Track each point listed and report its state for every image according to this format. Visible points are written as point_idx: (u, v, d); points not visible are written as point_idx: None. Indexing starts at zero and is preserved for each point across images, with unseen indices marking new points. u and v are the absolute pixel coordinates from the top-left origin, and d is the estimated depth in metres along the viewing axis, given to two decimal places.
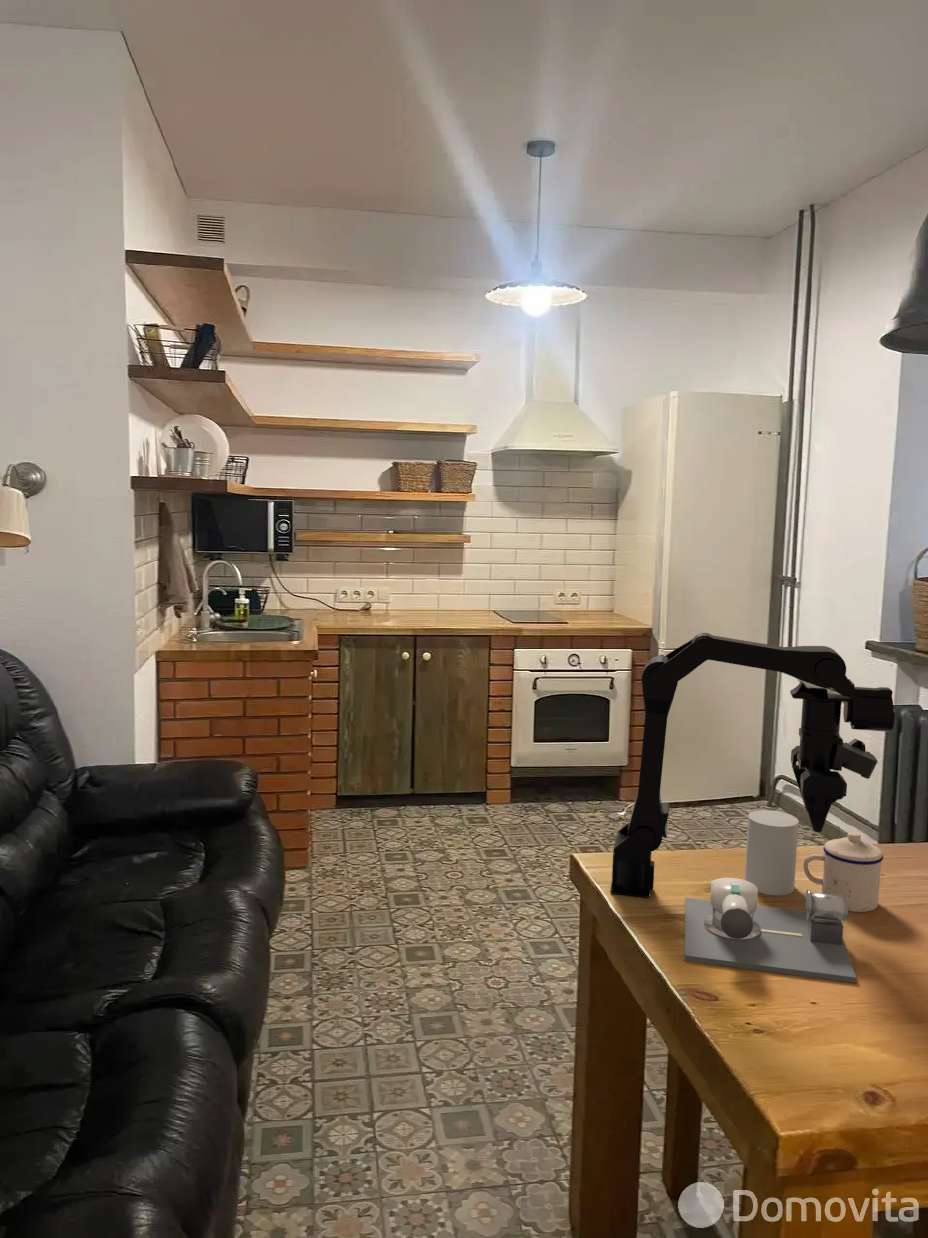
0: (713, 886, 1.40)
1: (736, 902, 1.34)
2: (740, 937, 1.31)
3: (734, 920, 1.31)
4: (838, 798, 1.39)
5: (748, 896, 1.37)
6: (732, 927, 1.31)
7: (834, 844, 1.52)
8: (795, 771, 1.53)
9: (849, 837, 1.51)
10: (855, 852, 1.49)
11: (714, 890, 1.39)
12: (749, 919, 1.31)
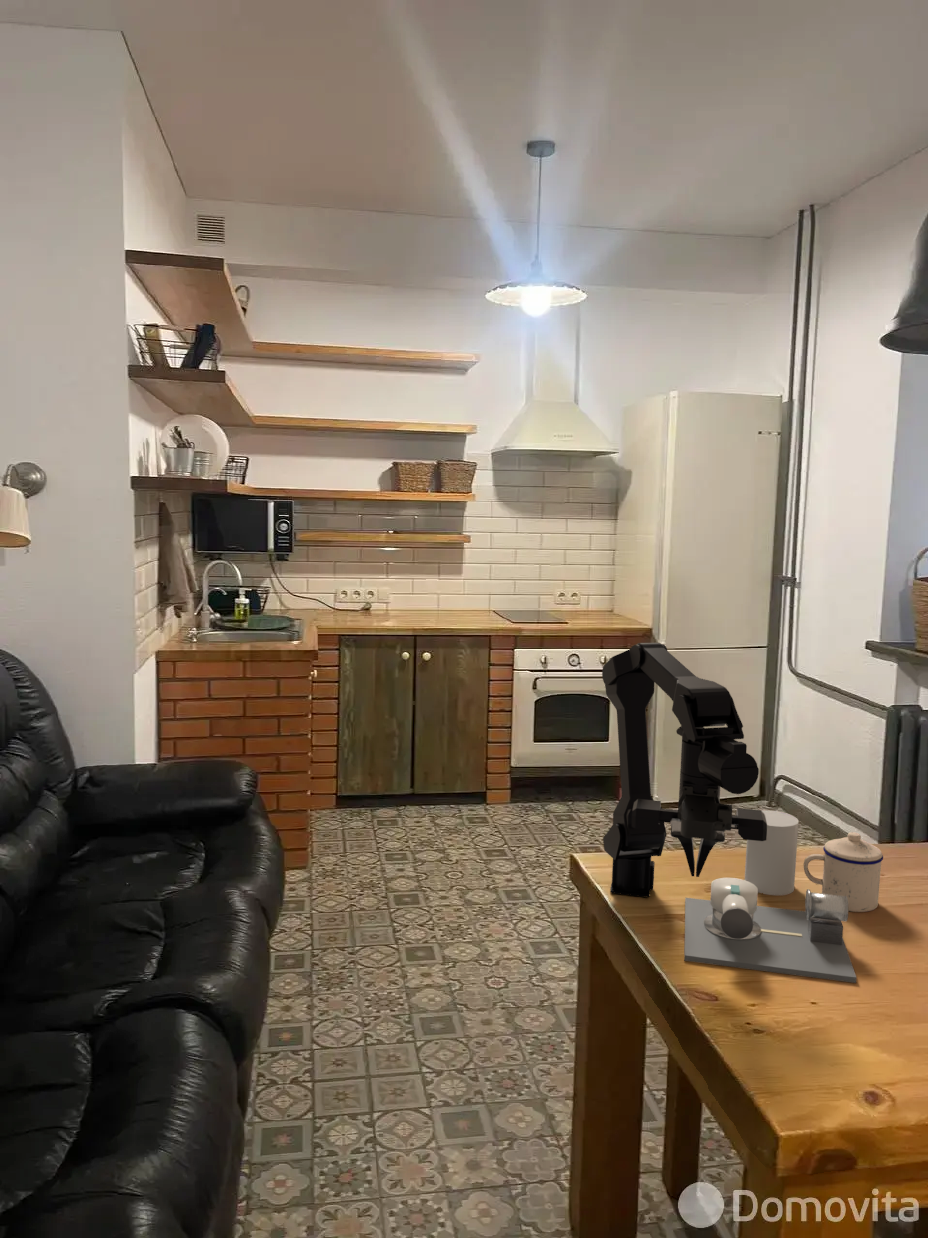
0: (713, 886, 1.40)
1: (736, 902, 1.34)
2: (740, 937, 1.31)
3: (734, 920, 1.31)
4: None
5: (748, 896, 1.37)
6: (732, 927, 1.31)
7: (834, 844, 1.52)
8: None
9: (849, 837, 1.51)
10: (855, 852, 1.49)
11: (714, 890, 1.39)
12: (749, 919, 1.31)
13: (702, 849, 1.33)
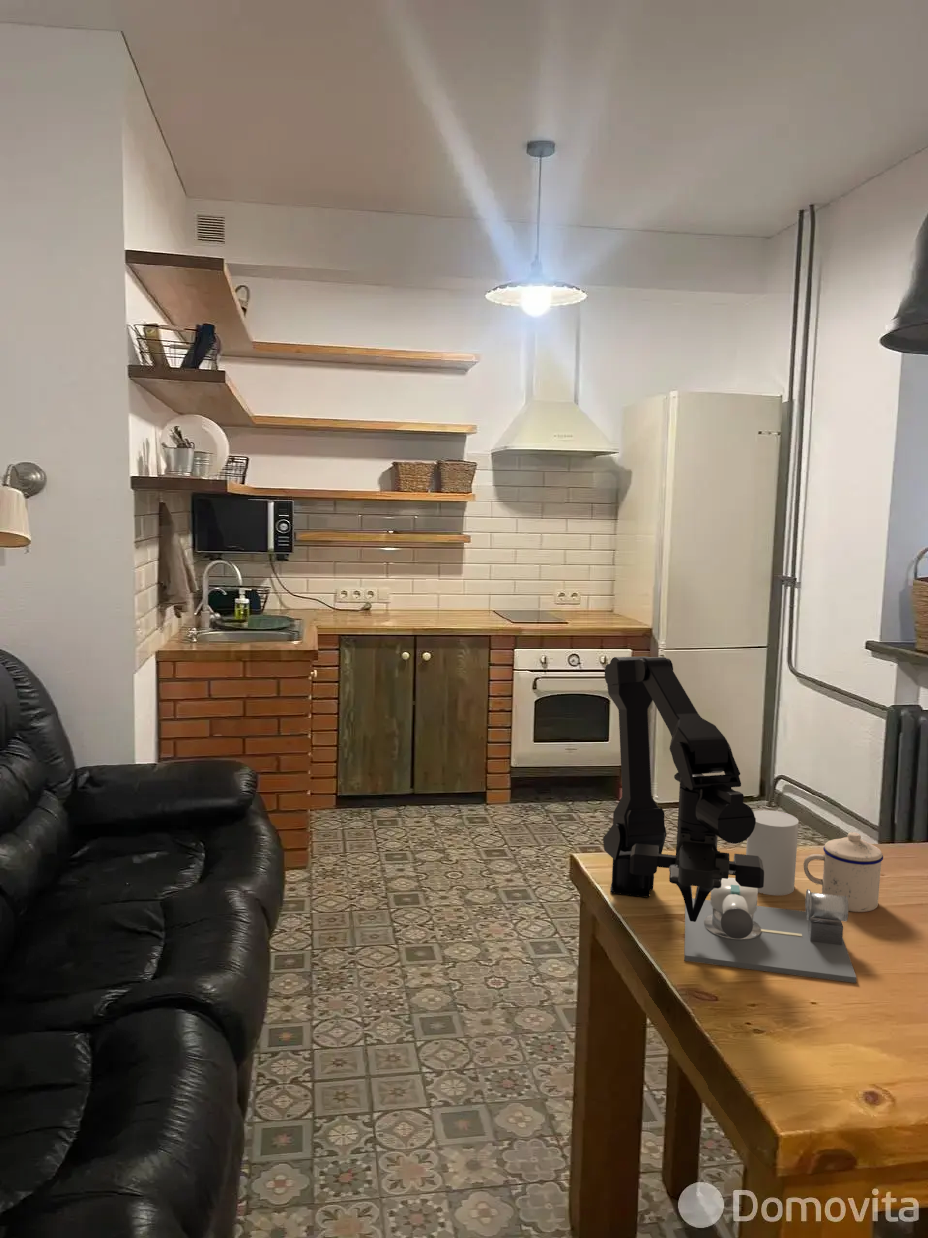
0: None
1: (736, 902, 1.34)
2: (740, 937, 1.31)
3: (734, 920, 1.31)
4: (669, 880, 1.34)
5: (748, 896, 1.37)
6: (732, 927, 1.31)
7: (834, 844, 1.52)
8: None
9: (849, 837, 1.51)
10: (855, 852, 1.49)
11: (714, 890, 1.39)
12: (749, 919, 1.31)
13: (699, 895, 1.34)
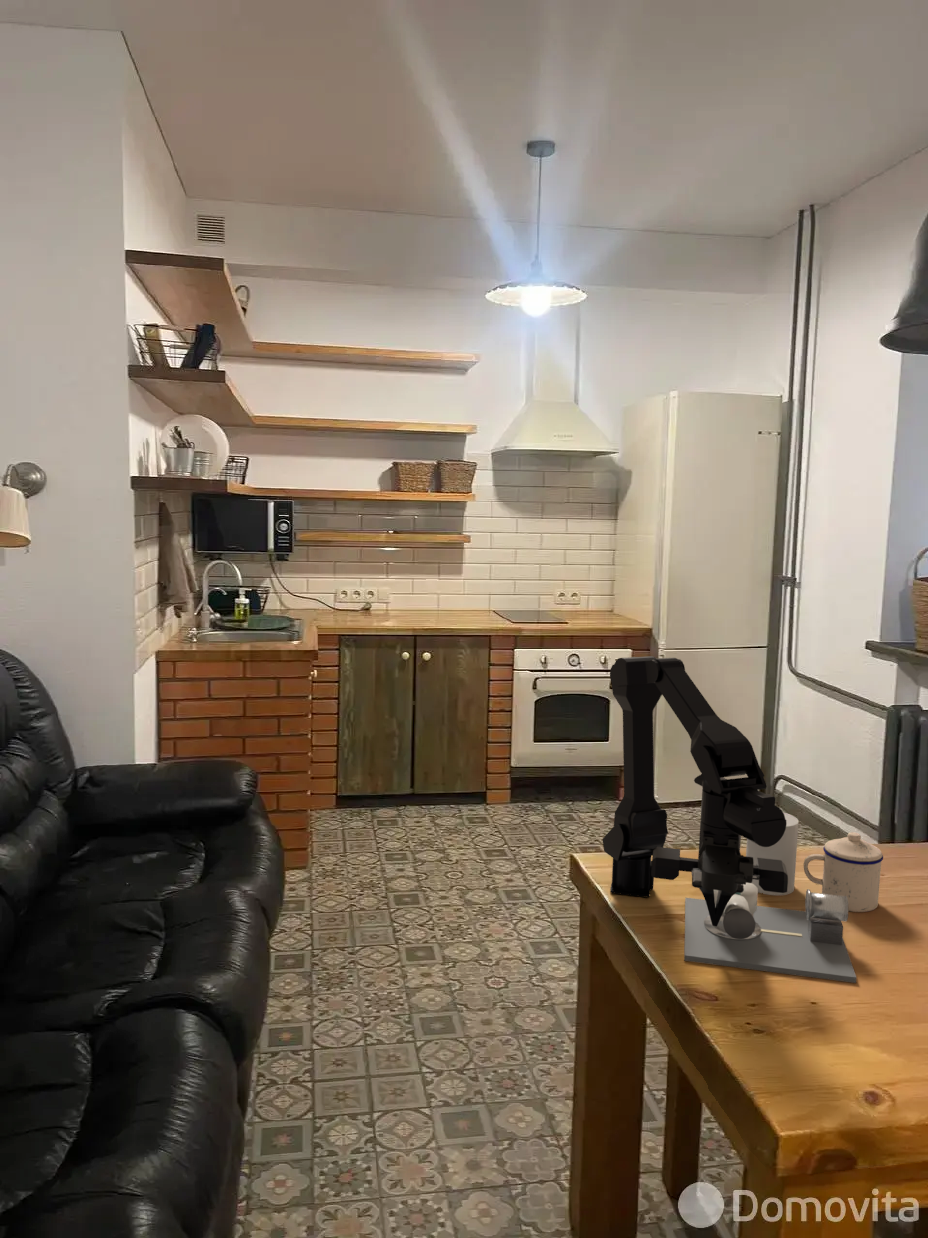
0: None
1: (737, 902, 1.34)
2: (742, 937, 1.31)
3: (736, 920, 1.31)
4: (692, 884, 1.32)
5: (748, 896, 1.37)
6: (734, 927, 1.31)
7: (834, 844, 1.52)
8: None
9: (849, 837, 1.51)
10: (855, 852, 1.49)
11: (715, 891, 1.39)
12: (751, 919, 1.30)
13: (720, 899, 1.32)
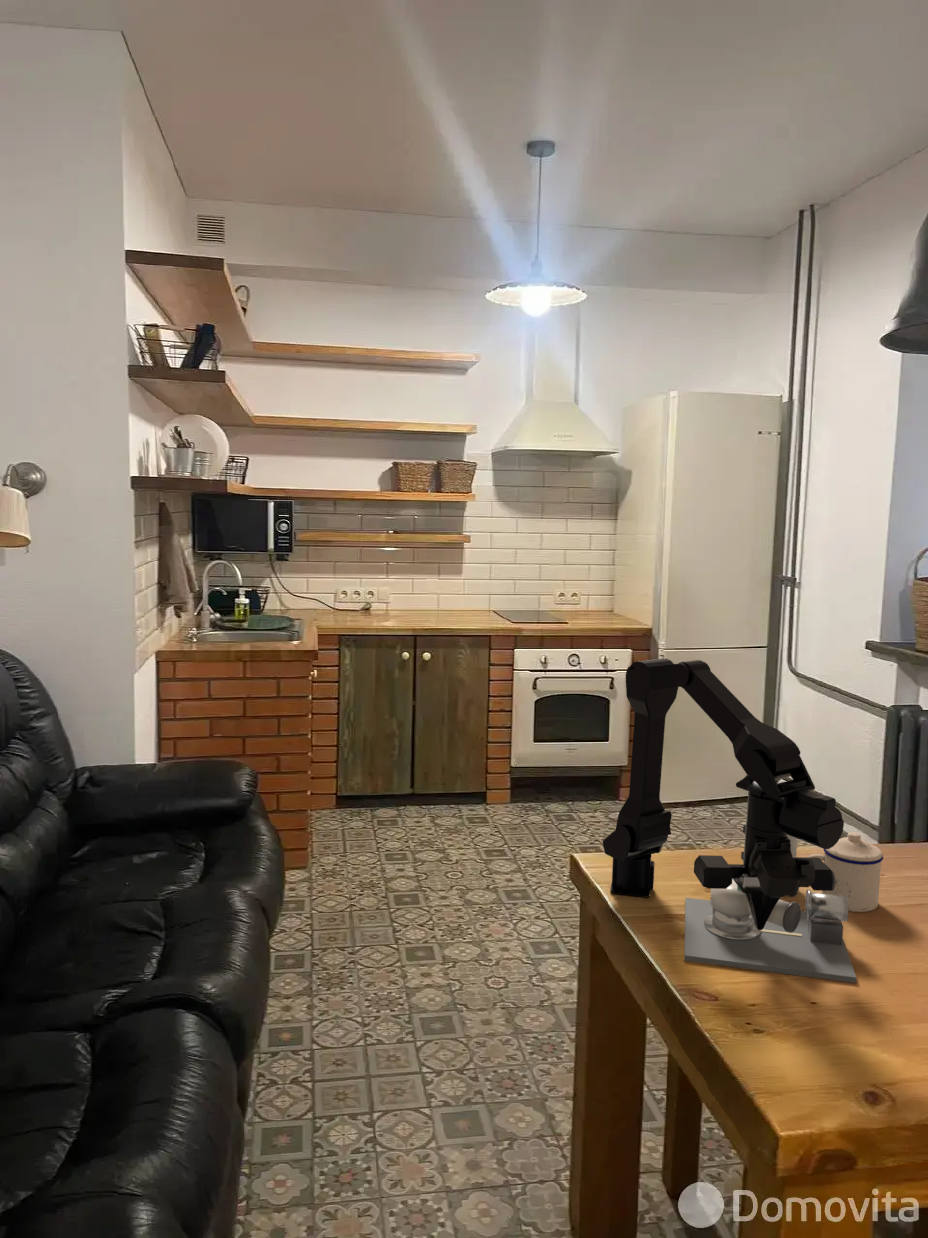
0: (728, 894, 1.37)
1: None
2: (794, 929, 1.34)
3: (792, 915, 1.33)
4: (742, 891, 1.30)
5: None
6: (791, 922, 1.33)
7: None
8: None
9: (849, 837, 1.51)
10: (855, 852, 1.49)
11: (734, 897, 1.37)
12: (799, 908, 1.34)
13: (768, 902, 1.32)
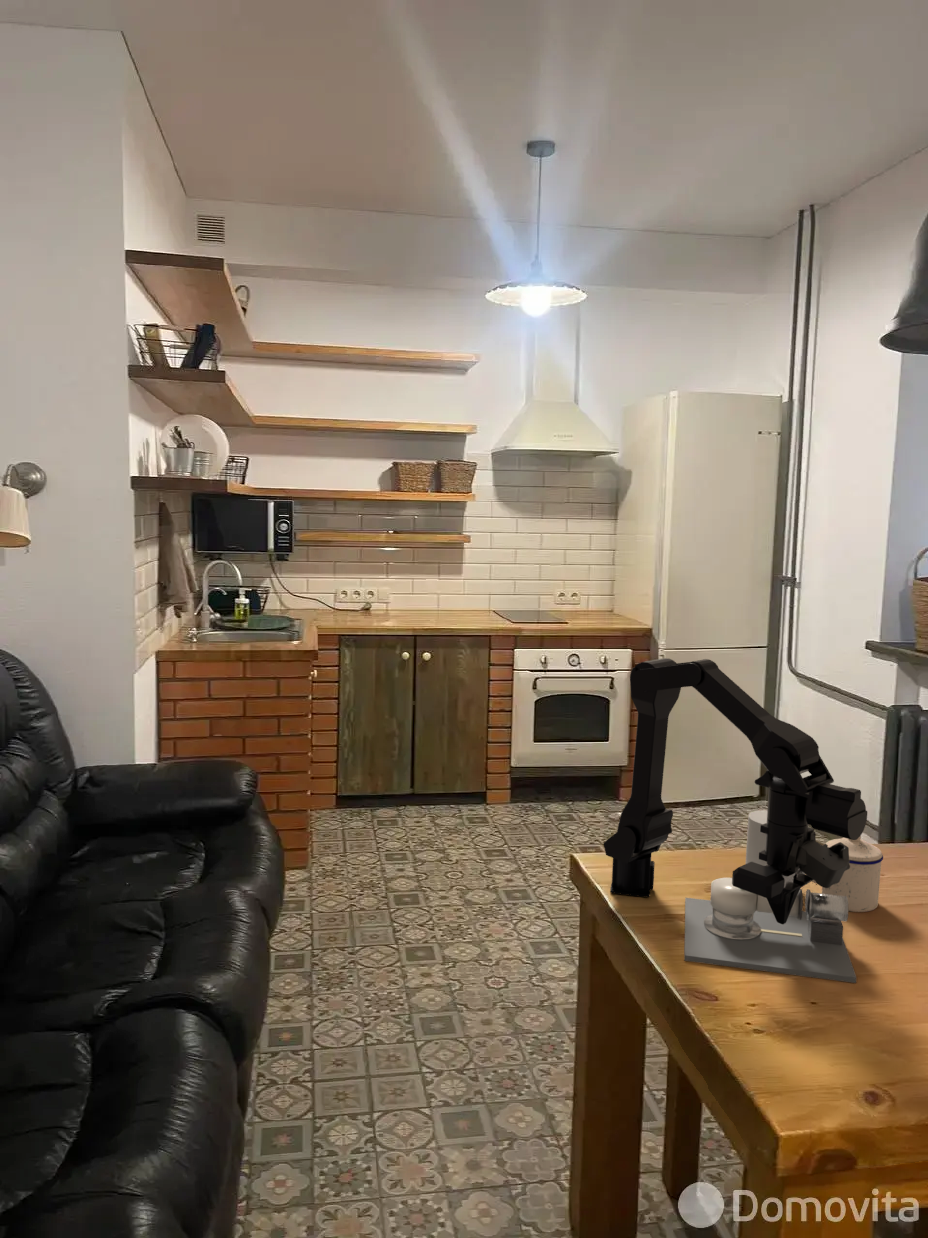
0: (740, 895, 1.37)
1: None
2: None
3: None
4: (784, 890, 1.31)
5: None
6: None
7: (834, 844, 1.52)
8: None
9: None
10: (855, 852, 1.49)
11: (746, 897, 1.37)
12: None
13: (794, 895, 1.34)
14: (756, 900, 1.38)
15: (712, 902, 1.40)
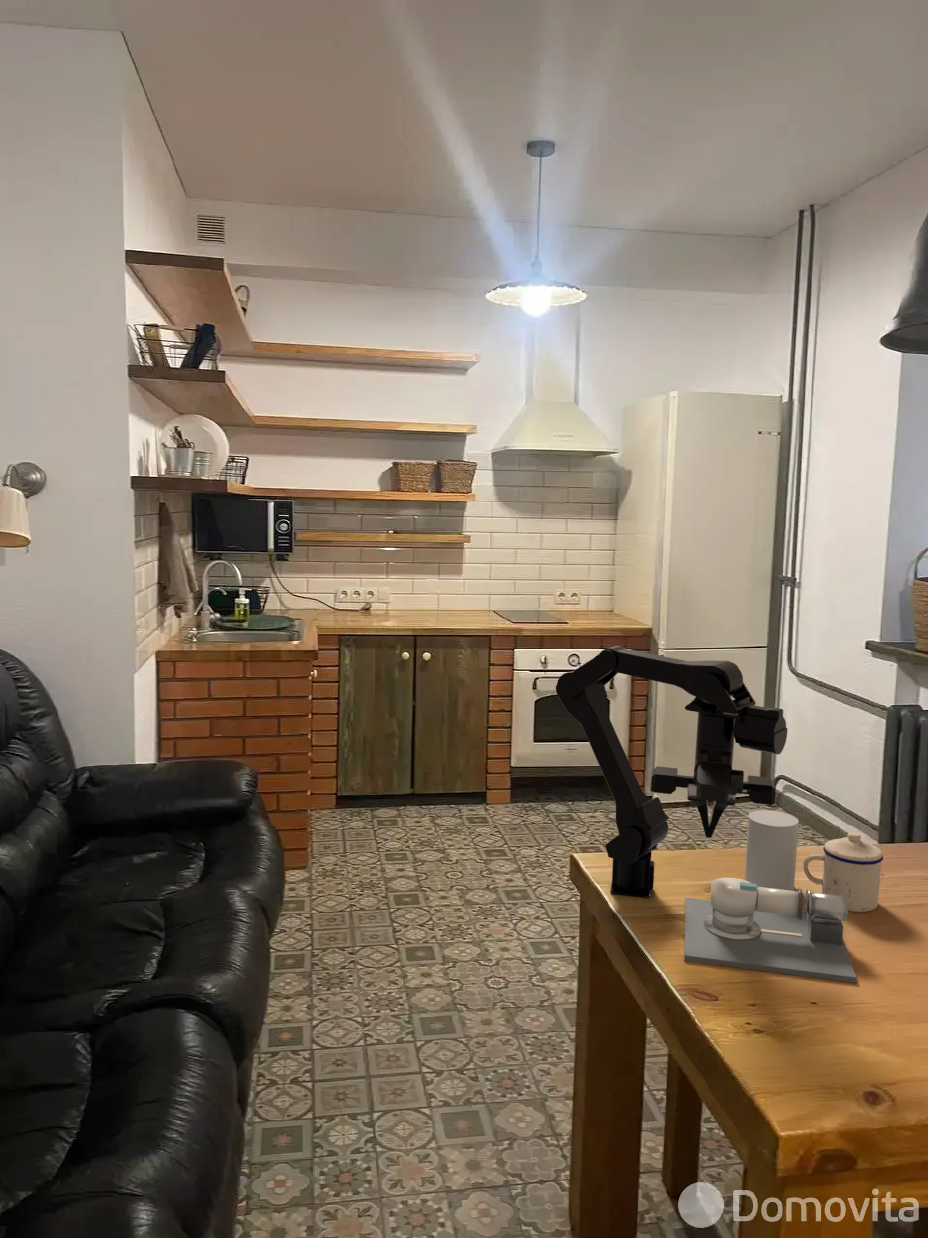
0: (740, 895, 1.37)
1: (777, 890, 1.39)
2: None
3: None
4: (687, 798, 1.45)
5: None
6: None
7: (834, 844, 1.52)
8: None
9: (849, 837, 1.51)
10: (855, 852, 1.49)
11: (746, 897, 1.37)
12: None
13: (714, 812, 1.45)
14: (756, 900, 1.38)
15: (712, 902, 1.40)
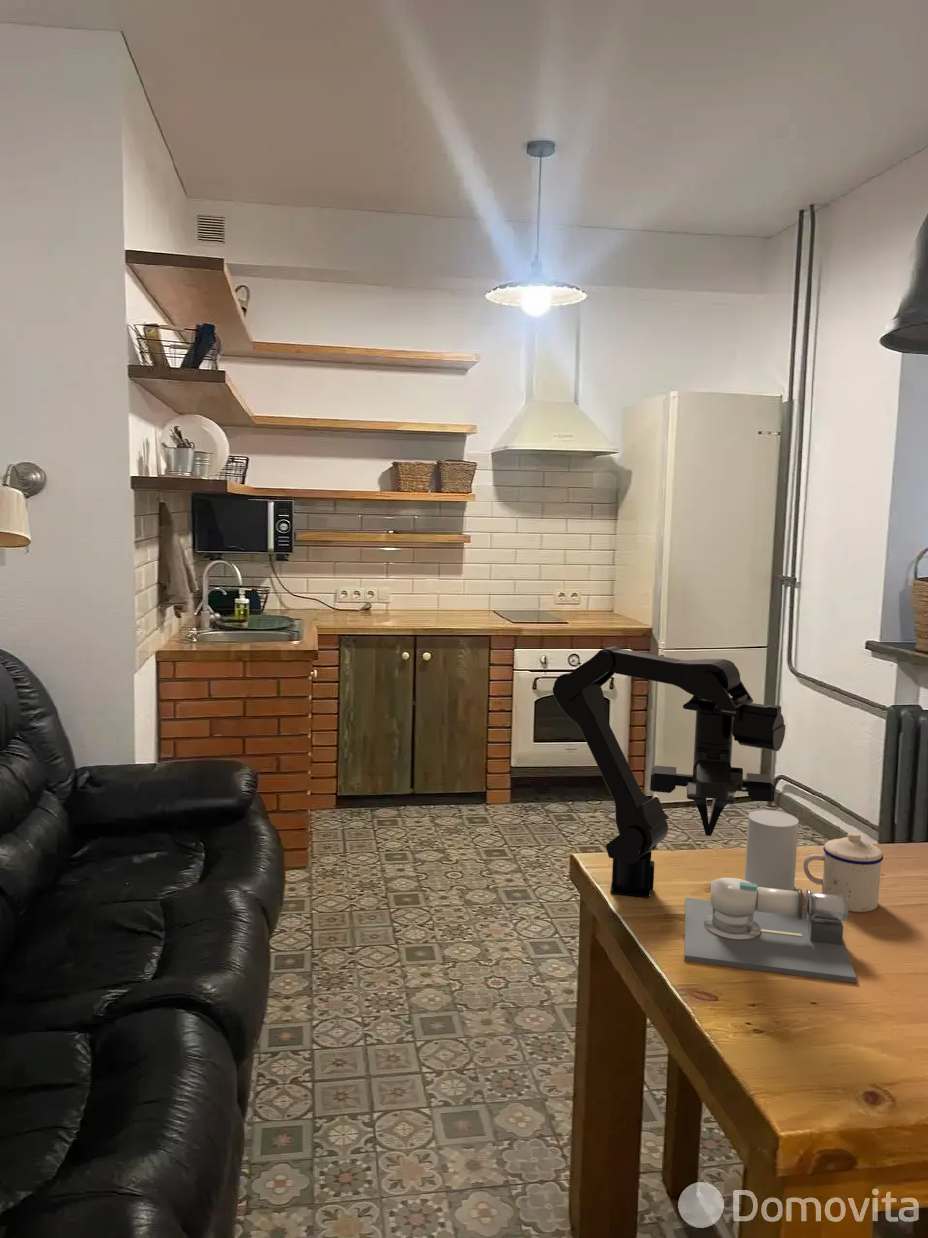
0: (740, 895, 1.37)
1: (777, 890, 1.39)
2: None
3: None
4: None
5: None
6: None
7: (834, 844, 1.52)
8: None
9: (849, 837, 1.51)
10: (855, 852, 1.49)
11: (746, 897, 1.37)
12: None
13: (714, 810, 1.45)
14: (756, 900, 1.38)
15: (712, 902, 1.40)
